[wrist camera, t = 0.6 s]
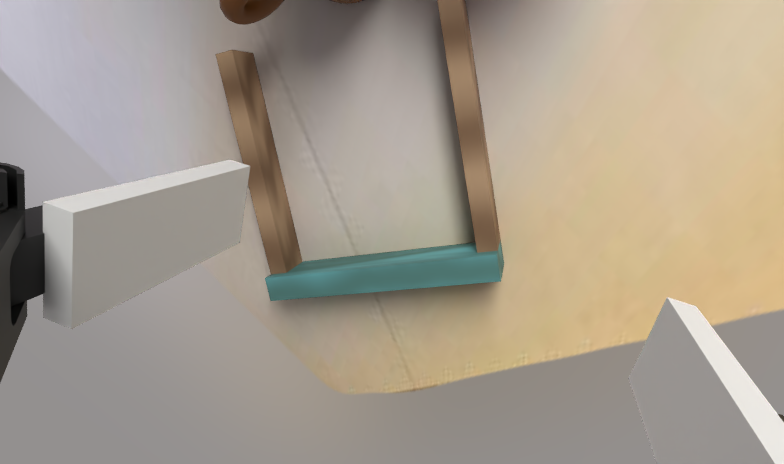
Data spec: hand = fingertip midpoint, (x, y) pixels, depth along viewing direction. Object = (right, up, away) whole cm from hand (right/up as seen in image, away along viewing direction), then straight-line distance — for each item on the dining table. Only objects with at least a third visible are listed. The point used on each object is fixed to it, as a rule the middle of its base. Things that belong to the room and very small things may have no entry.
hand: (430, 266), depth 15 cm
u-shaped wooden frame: (-3, +8, +24) cm, 26 cm away
